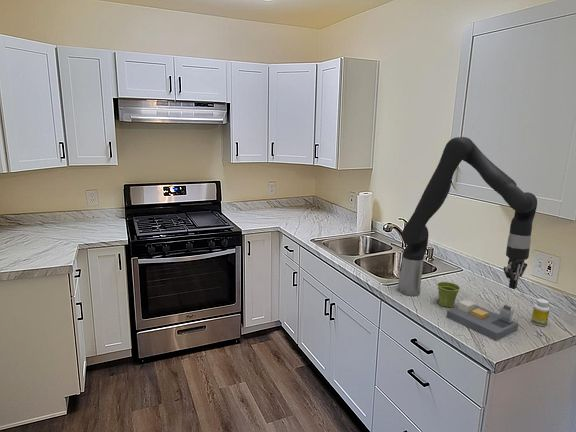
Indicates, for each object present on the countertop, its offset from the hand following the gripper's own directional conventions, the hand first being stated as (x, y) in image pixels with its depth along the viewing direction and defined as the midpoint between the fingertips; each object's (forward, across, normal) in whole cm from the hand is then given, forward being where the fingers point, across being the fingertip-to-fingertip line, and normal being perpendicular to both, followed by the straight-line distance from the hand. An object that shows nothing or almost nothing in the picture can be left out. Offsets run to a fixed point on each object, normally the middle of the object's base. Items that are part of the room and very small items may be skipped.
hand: (512, 288), depth 152 cm
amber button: (+15, +8, -7) cm, 18 cm away
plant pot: (+16, +5, -24) cm, 29 cm away
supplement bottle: (+16, -14, +5) cm, 22 cm away
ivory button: (+14, +8, -13) cm, 21 cm away
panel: (+16, +8, -6) cm, 19 cm away
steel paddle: (+13, +3, +1) cm, 13 cm away
